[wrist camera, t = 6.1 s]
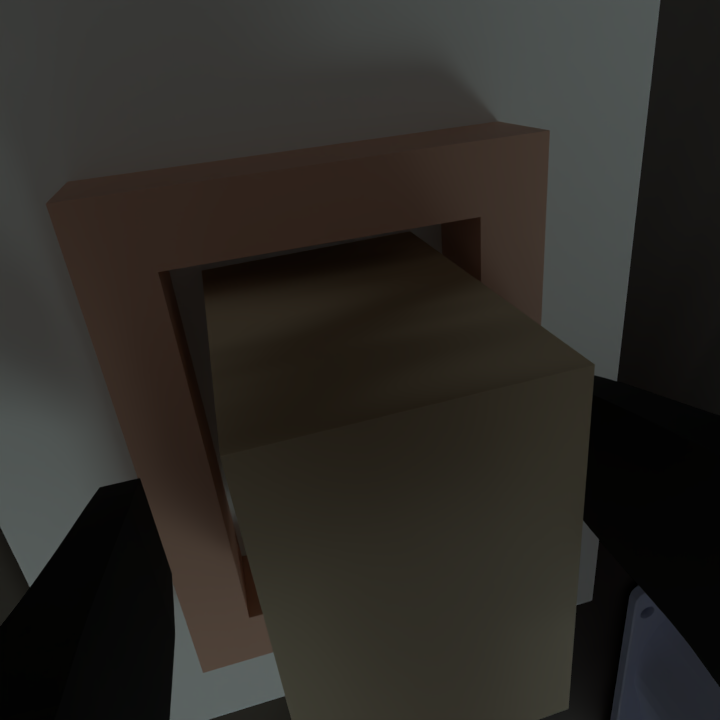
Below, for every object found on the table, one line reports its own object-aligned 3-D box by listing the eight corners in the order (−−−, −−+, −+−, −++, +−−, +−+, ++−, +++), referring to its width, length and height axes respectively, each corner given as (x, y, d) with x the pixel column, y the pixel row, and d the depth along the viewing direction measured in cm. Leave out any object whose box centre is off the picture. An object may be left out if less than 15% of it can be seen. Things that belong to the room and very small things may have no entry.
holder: (573, 575, 19) (630, 650, 17) (113, 713, 16) (101, 826, 14) (639, -148, 11) (772, -210, 8) (-265, -100, 8) (-453, -171, 6)
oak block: (410, 231, 12) (594, 364, 6) (428, 476, 14) (568, 708, 9) (201, 270, 11) (220, 455, 6) (263, 520, 14) (313, 799, 8)
